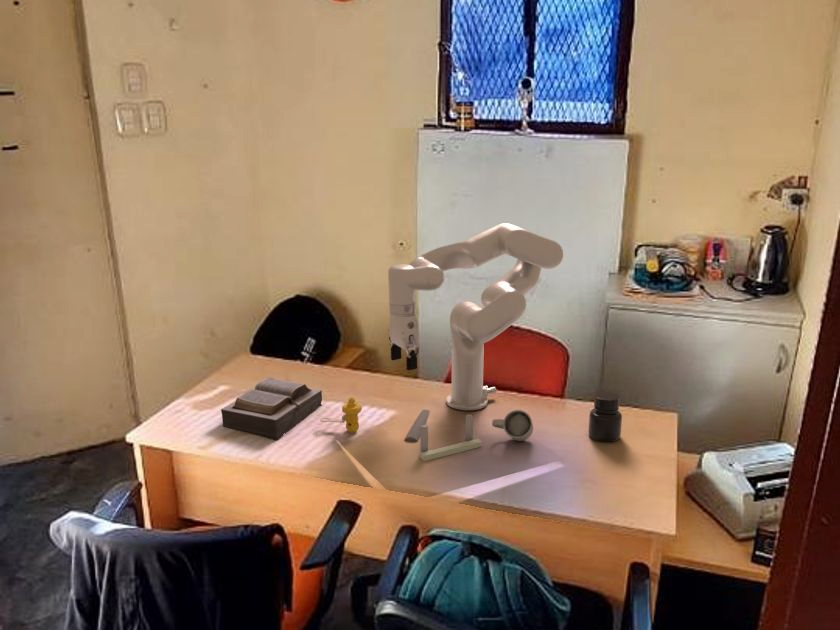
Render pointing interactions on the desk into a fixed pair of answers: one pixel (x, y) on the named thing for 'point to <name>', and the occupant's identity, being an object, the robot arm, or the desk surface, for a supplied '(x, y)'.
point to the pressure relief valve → (348, 415)
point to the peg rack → (450, 449)
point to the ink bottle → (605, 417)
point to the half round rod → (417, 426)
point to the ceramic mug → (516, 425)
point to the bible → (271, 408)
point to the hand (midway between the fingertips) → (403, 364)
